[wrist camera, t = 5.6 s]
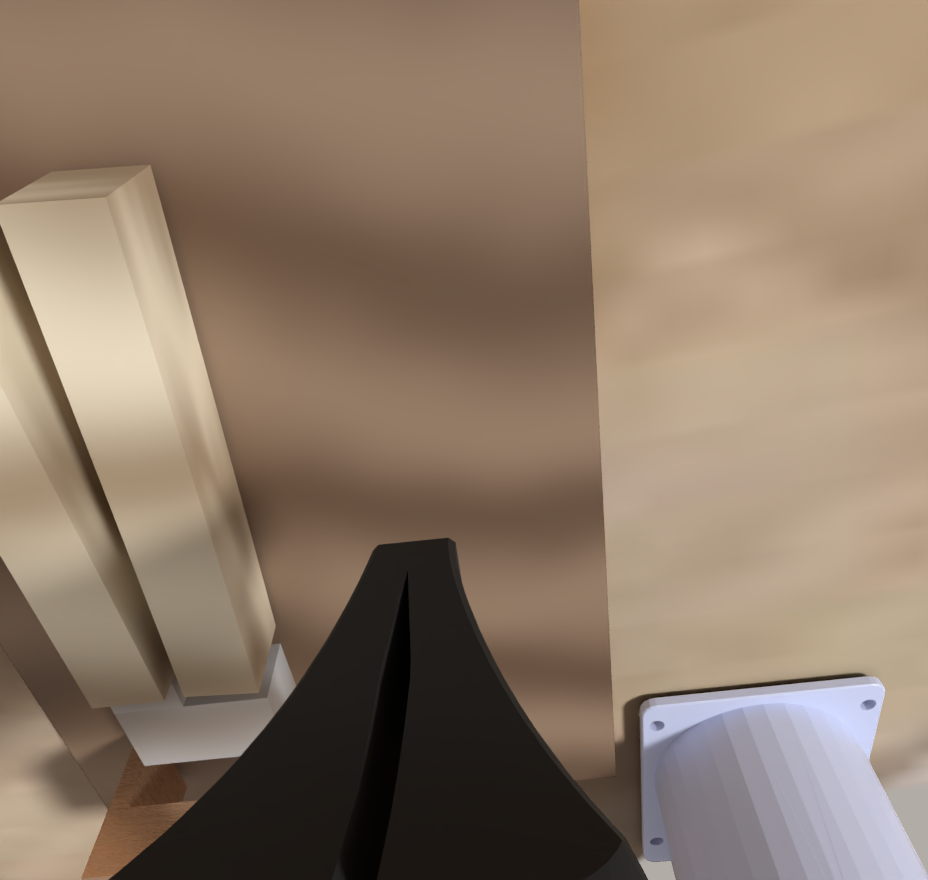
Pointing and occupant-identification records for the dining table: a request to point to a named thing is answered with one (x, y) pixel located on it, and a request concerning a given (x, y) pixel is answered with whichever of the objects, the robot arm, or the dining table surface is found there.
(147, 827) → the brown rectangular block
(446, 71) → the tongs base
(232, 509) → the bar
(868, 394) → the dining table surface
